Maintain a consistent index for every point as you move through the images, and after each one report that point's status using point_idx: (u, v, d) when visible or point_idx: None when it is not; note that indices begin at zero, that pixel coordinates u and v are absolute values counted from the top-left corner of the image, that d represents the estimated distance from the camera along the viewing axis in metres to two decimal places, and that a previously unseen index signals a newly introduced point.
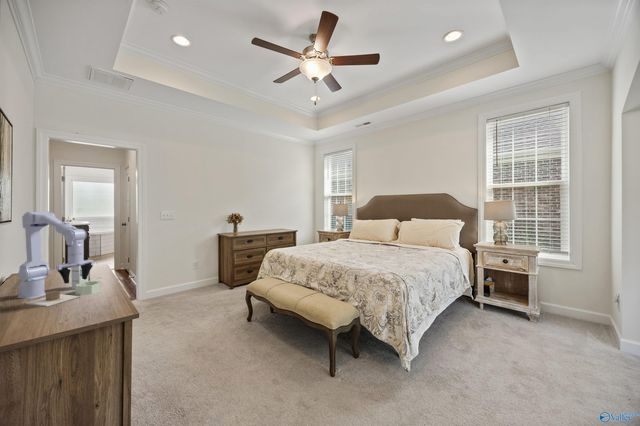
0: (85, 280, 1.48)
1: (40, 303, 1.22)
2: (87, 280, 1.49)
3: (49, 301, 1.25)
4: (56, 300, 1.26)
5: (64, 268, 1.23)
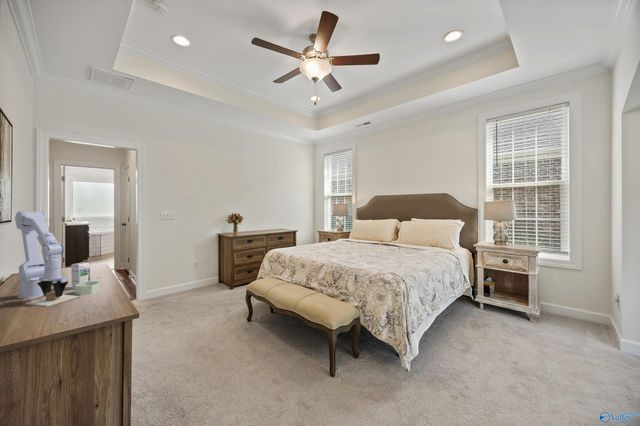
0: (85, 280, 1.48)
1: (40, 303, 1.22)
2: (87, 280, 1.49)
3: (49, 301, 1.25)
4: (56, 300, 1.26)
5: (43, 280, 1.28)
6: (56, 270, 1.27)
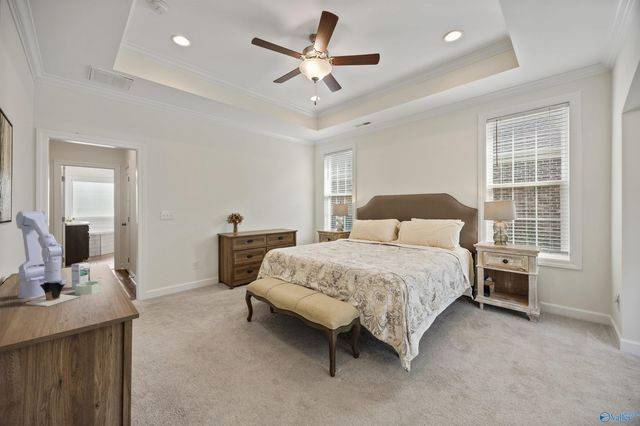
0: (85, 280, 1.48)
1: (40, 303, 1.22)
2: (87, 280, 1.49)
3: (49, 301, 1.25)
4: (56, 300, 1.26)
5: None
6: (56, 272, 1.27)
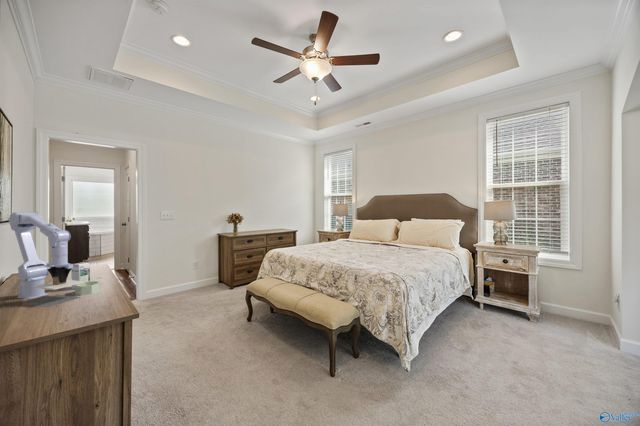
0: (85, 280, 1.48)
1: (47, 287, 1.25)
2: (87, 280, 1.49)
3: (56, 285, 1.27)
4: (63, 284, 1.29)
5: (50, 266, 1.30)
6: (63, 256, 1.29)
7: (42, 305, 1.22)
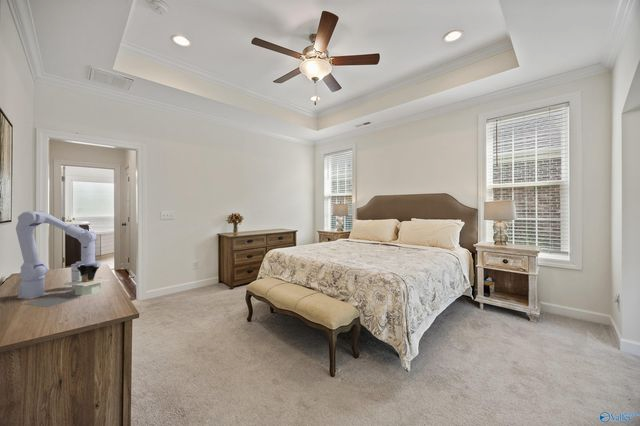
0: None
1: (77, 284, 1.35)
2: None
3: (85, 282, 1.38)
4: (91, 282, 1.39)
5: None
6: (91, 256, 1.40)
7: (42, 305, 1.22)
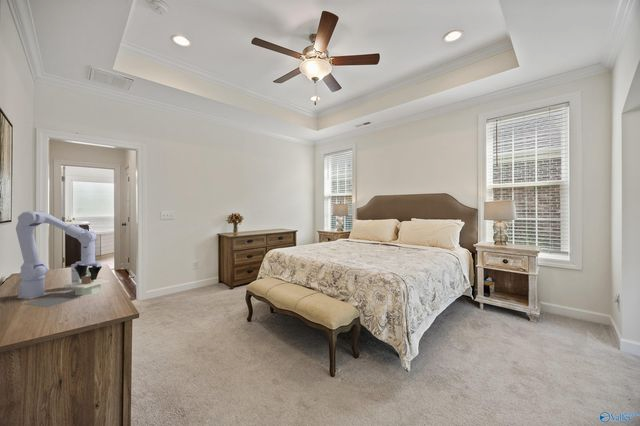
0: None
1: (77, 285, 1.35)
2: None
3: (85, 284, 1.38)
4: (91, 283, 1.39)
5: (79, 265, 1.41)
6: (91, 256, 1.40)
7: (42, 305, 1.22)
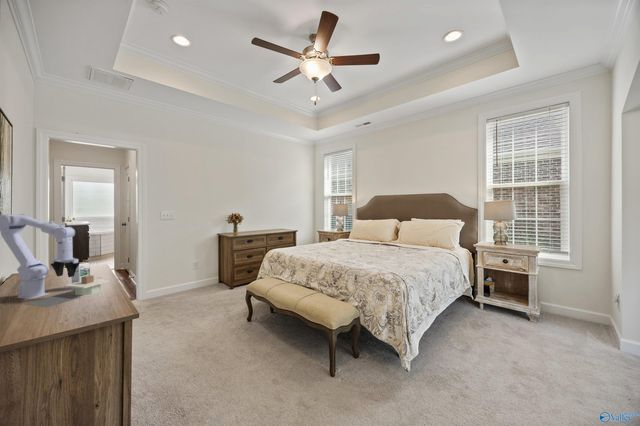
0: None
1: (77, 285, 1.35)
2: None
3: (85, 284, 1.38)
4: (91, 283, 1.39)
5: (56, 262, 1.36)
6: (68, 252, 1.34)
7: (42, 305, 1.22)
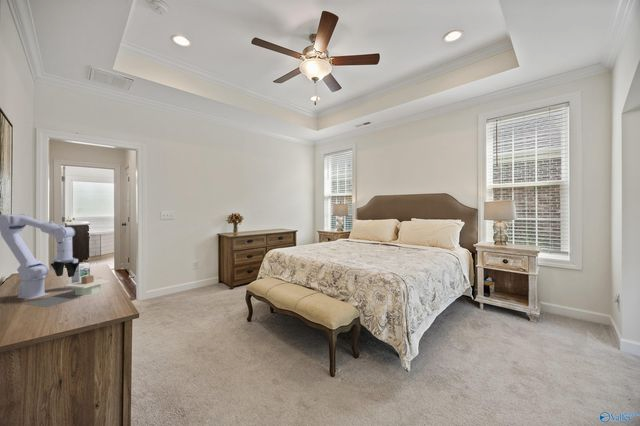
0: None
1: (77, 285, 1.35)
2: None
3: (85, 284, 1.38)
4: (91, 283, 1.39)
5: (55, 262, 1.36)
6: (68, 252, 1.34)
7: (42, 305, 1.22)
